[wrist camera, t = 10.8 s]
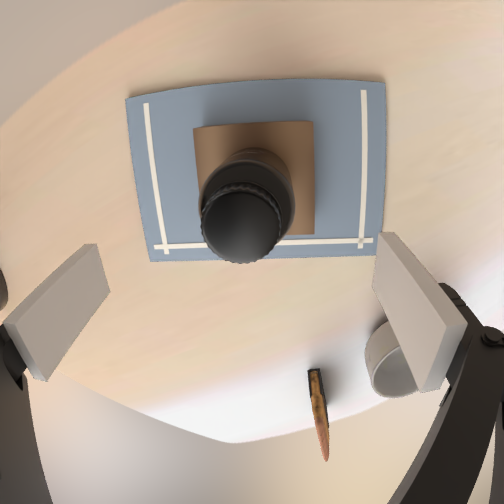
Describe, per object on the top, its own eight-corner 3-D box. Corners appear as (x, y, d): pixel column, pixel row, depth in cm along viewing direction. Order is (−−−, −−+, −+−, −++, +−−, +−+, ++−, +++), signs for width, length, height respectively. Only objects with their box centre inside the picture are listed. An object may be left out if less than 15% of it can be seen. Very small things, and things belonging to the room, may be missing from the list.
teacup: (345, 337, 42) (356, 377, 35) (406, 291, 39) (428, 327, 31) (390, 378, 46) (402, 414, 39) (443, 341, 42) (461, 375, 35)
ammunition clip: (326, 406, 49) (332, 462, 39) (316, 407, 50) (321, 464, 39) (319, 367, 45) (326, 431, 34) (307, 370, 46) (312, 433, 35)
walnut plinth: (211, 224, 35) (204, 238, 32) (201, 126, 31) (192, 128, 27) (310, 220, 34) (314, 234, 31) (308, 120, 30) (313, 121, 26)
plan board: (152, 258, 39) (150, 262, 38) (129, 98, 30) (124, 98, 29) (376, 251, 36) (379, 255, 35) (381, 83, 28) (385, 82, 27)
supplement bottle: (246, 131, 27) (228, 143, 16) (305, 176, 28) (325, 218, 17) (203, 189, 29) (163, 237, 19) (260, 230, 31) (253, 298, 20)
